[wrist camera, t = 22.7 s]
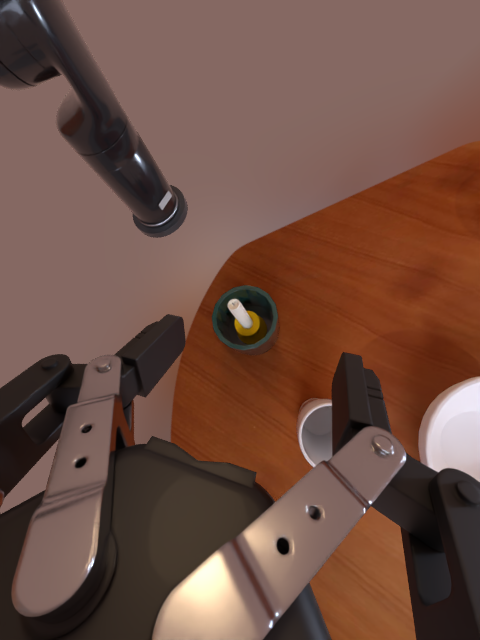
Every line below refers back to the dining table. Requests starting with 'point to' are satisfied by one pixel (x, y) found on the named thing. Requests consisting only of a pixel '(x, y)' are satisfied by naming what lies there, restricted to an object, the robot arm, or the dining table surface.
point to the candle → (247, 323)
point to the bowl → (453, 429)
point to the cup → (251, 301)
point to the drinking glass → (315, 430)
